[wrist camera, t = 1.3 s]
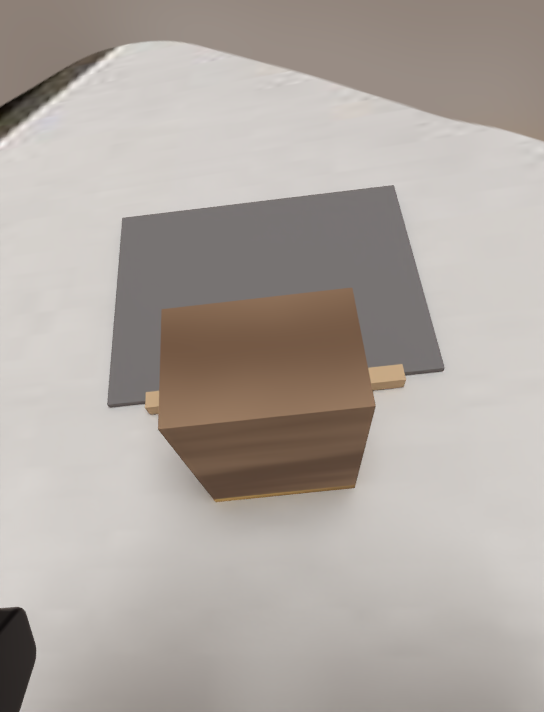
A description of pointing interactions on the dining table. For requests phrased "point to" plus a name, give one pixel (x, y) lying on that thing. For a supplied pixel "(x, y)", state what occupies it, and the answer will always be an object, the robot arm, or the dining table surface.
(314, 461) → the walnut block
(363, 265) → the mat
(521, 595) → the dining table surface
